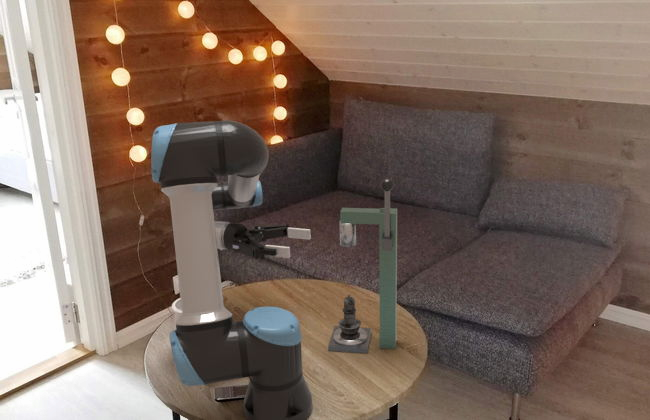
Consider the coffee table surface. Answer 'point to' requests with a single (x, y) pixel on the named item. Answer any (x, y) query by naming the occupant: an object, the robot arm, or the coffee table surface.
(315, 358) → the coffee table surface
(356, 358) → the coffee table surface
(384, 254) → the arbor press
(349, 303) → the dark chess piece
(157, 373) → the coffee table surface
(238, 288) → the coffee table surface
